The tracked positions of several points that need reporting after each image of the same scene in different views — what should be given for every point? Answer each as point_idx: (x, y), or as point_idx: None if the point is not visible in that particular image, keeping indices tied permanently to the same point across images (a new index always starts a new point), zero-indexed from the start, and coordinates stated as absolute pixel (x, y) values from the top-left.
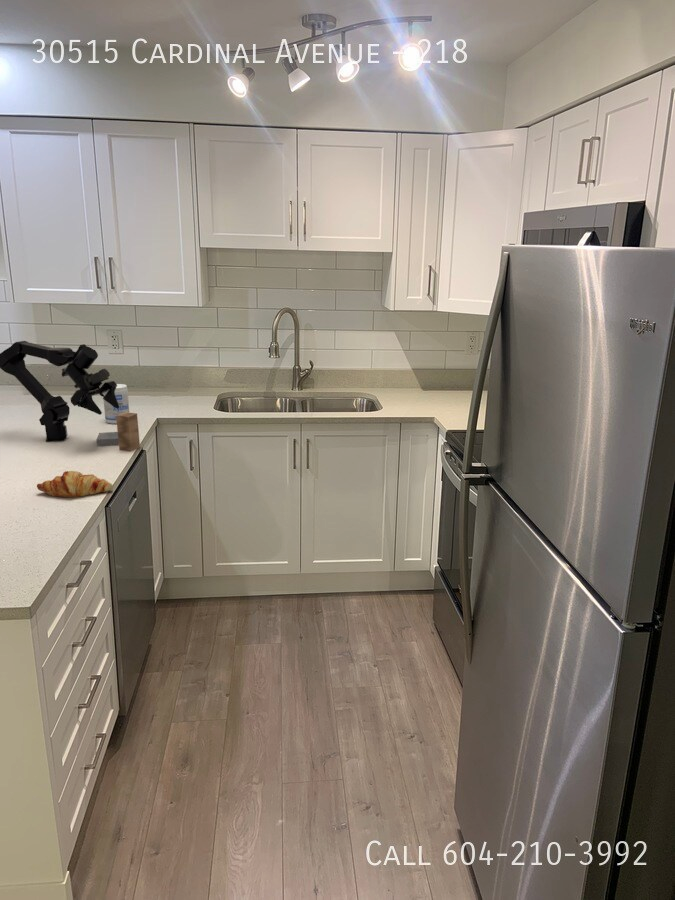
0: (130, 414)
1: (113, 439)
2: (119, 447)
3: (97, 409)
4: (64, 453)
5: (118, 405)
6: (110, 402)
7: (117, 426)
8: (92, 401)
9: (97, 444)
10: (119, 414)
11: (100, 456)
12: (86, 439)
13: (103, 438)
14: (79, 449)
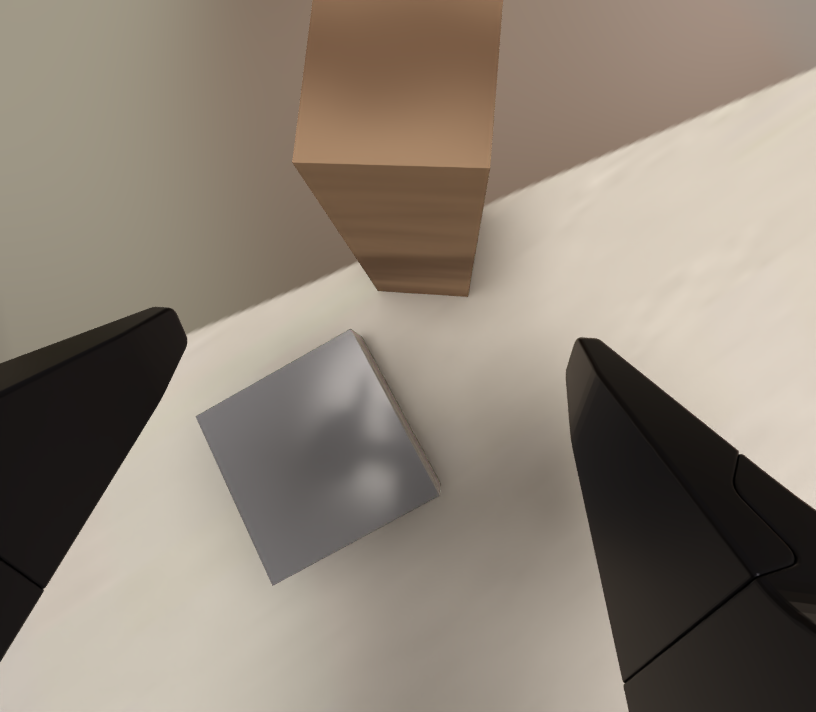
0: (383, 27)
1: (381, 387)
2: (468, 289)
3: (651, 391)
4: None
5: (142, 314)
6: (81, 483)
7: (478, 228)
8: (799, 557)
9: (438, 484)
10: (425, 157)
11: (628, 329)
12: (318, 659)
13: (399, 459)
14: (540, 562)
